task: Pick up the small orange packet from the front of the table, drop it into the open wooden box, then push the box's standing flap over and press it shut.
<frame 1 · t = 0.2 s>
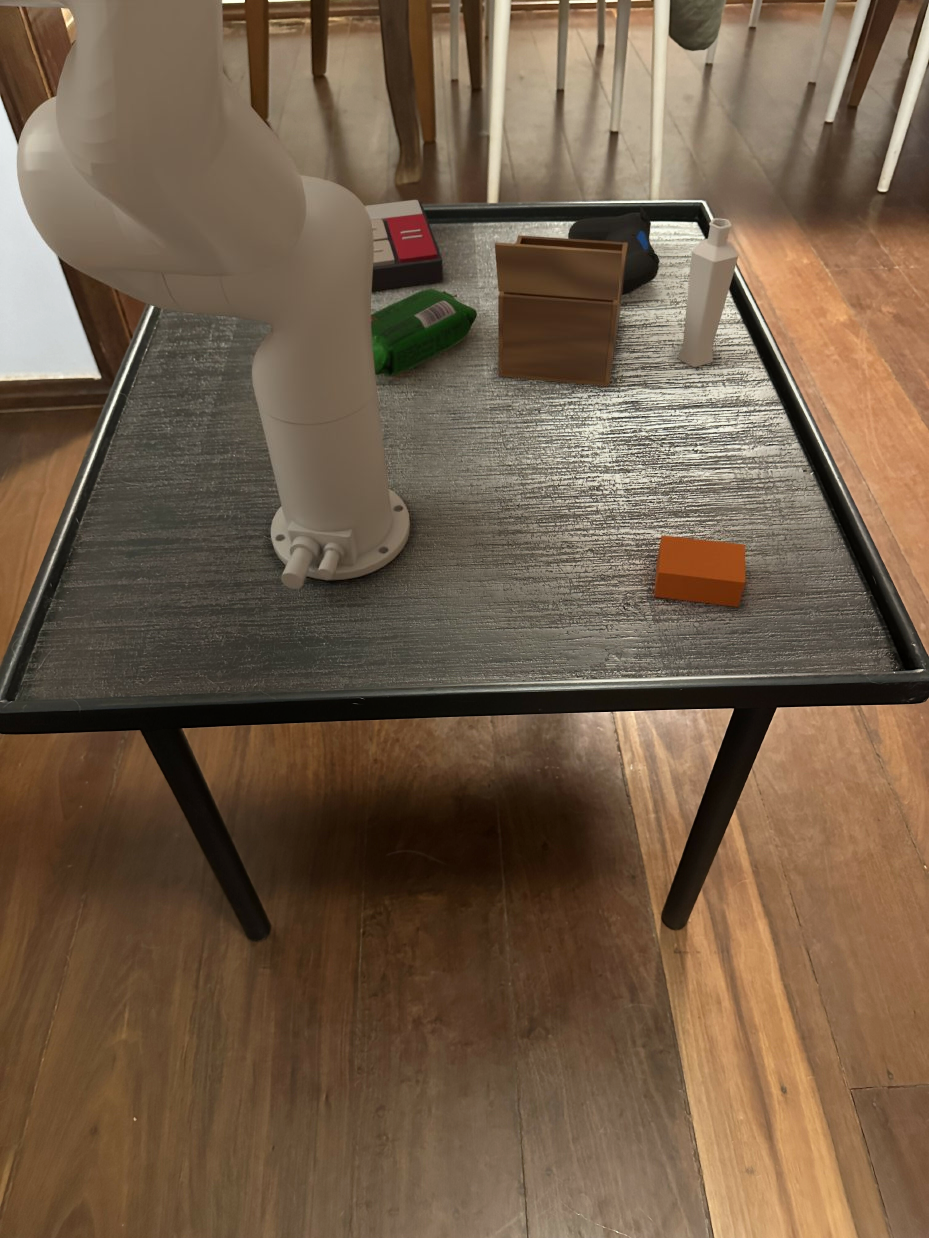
perfume bottle: (695, 359, 101), on the table
packet: (696, 582, 79), on the table
calculator: (390, 260, 117), on the table
flap: (557, 272, 88), point 13 cm above the table, hinge at 110.0°
snack package: (416, 352, 103), on the table
open wooden box: (560, 348, 103), on the table
gaming controller: (609, 276, 113), on the table
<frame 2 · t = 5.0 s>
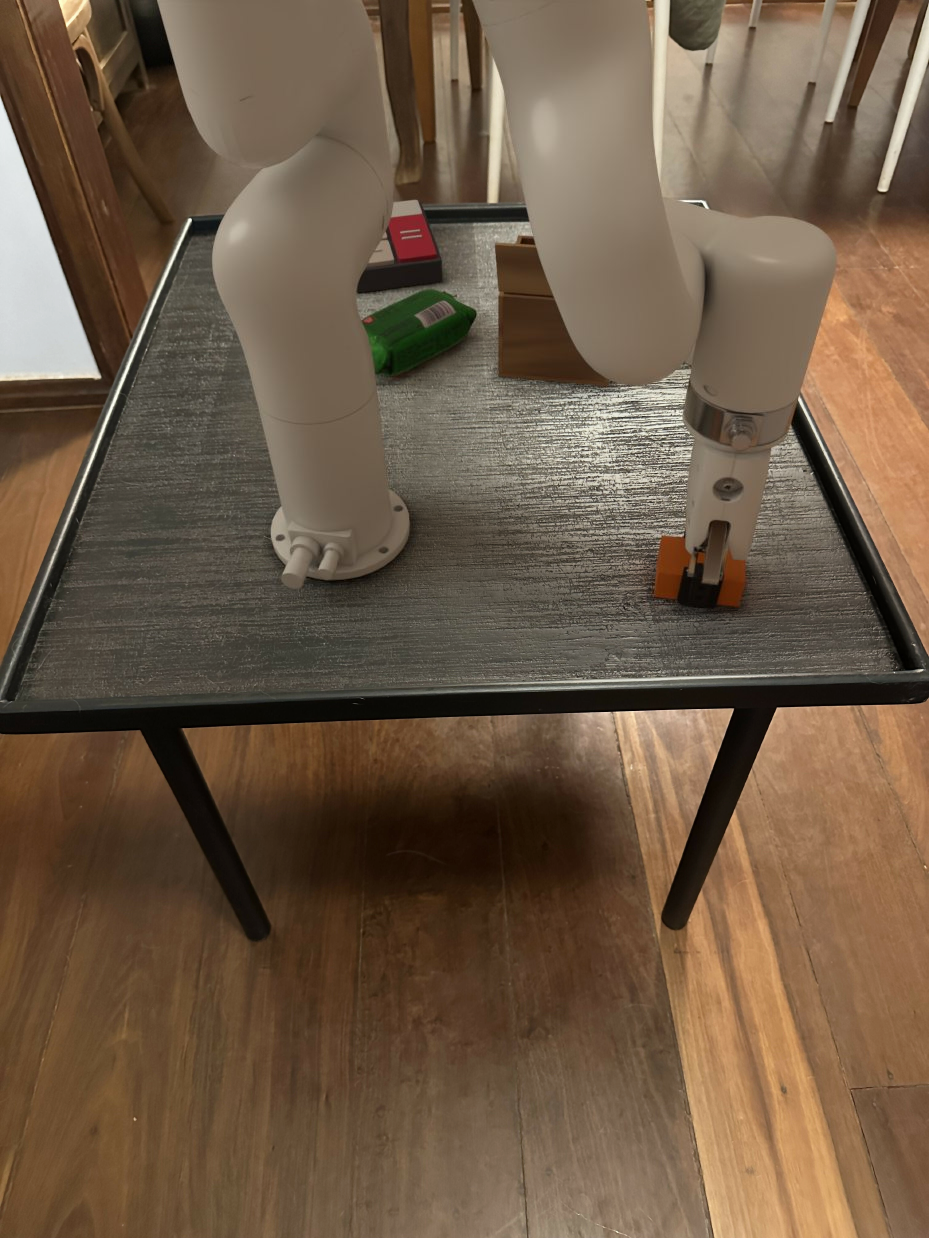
hand: (697, 579, 78), 0 cm above the table, tool pointing down, fingers closed on packet, 4 cm apart
packet: (696, 582, 79), on the table, touching gripper
everything else where it was.
when the fingers open (8 cm above the table, at t = 12.5 s): packet drops 7 cm, resting on open wooden box.
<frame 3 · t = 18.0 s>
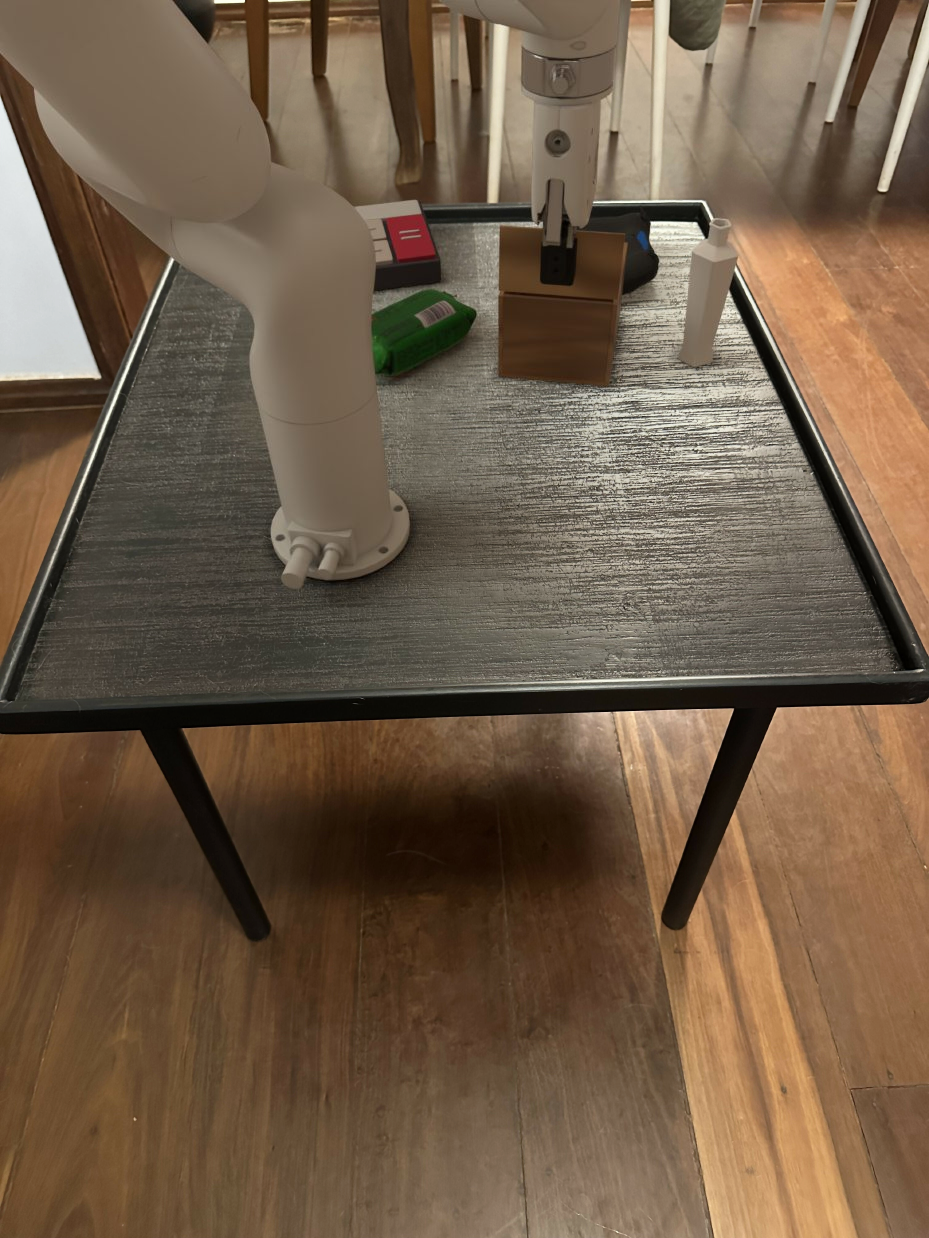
hand: (557, 280, 88), 13 cm above the table, tool pointing down, fingers closed
packet: (561, 344, 102), resting on open wooden box
flap: (559, 263, 89), point 13 cm above the table, hinge at 84.5°, touching gripper
everything else where it was.
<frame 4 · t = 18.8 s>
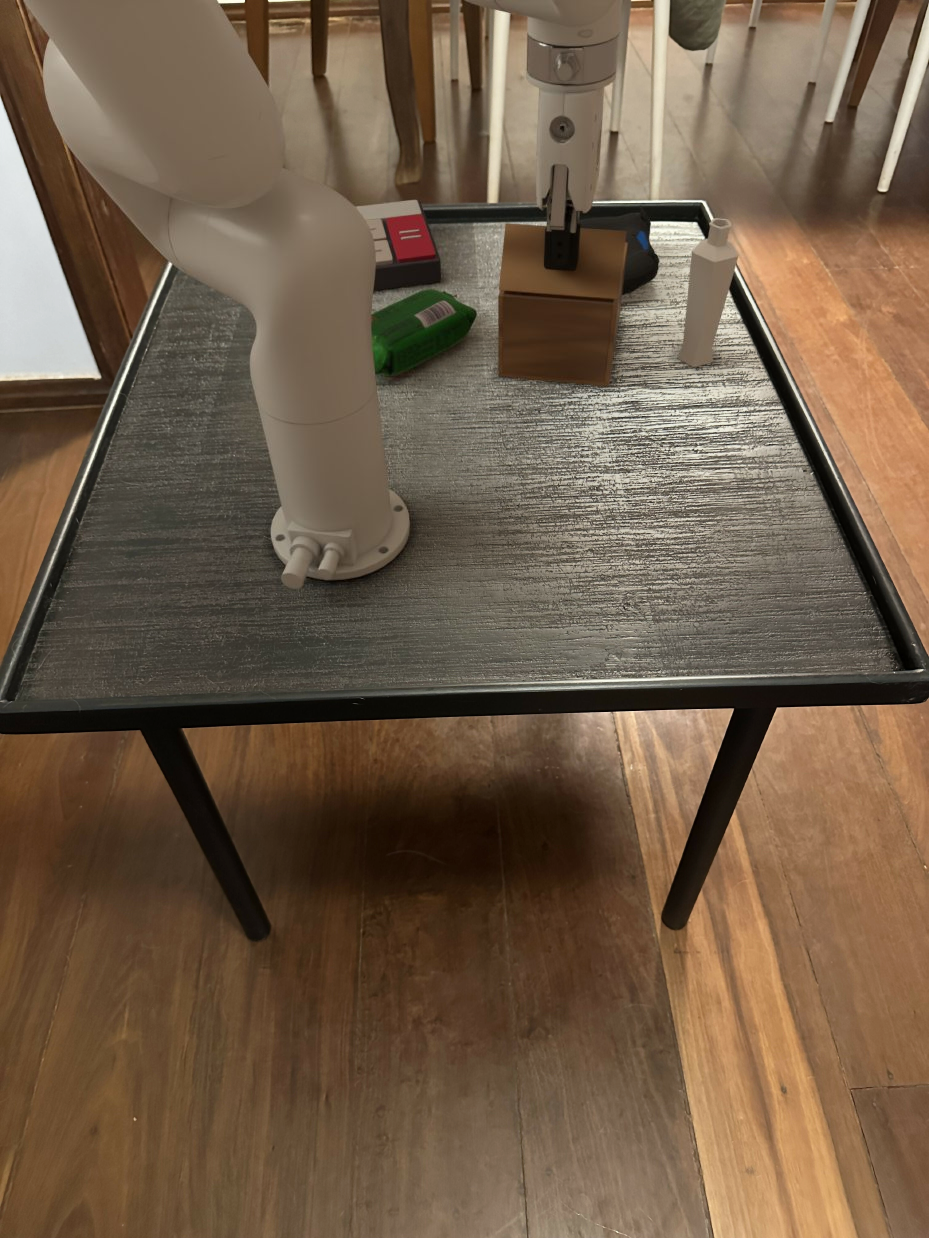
hand: (560, 265, 90), 13 cm above the table, tool pointing down, fingers closed
flap: (561, 261, 90), point 13 cm above the table, hinge at 50.1°, touching gripper
everything else where it was.
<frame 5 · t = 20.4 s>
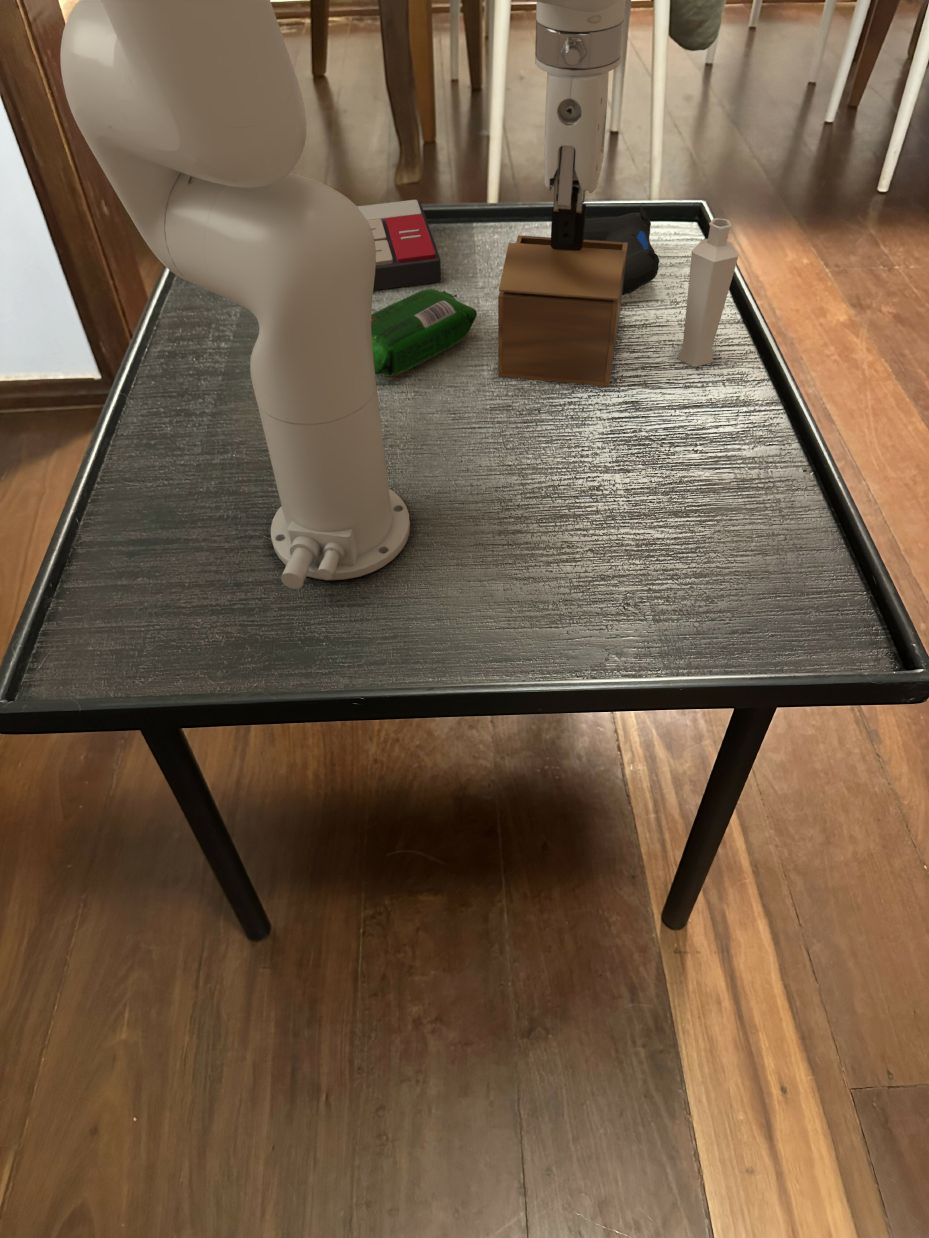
hand: (567, 245, 93), 12 cm above the table, tool pointing down, fingers closed
flap: (562, 271, 92), point 11 cm above the table, hinge at 17.0°
everything else where it was.
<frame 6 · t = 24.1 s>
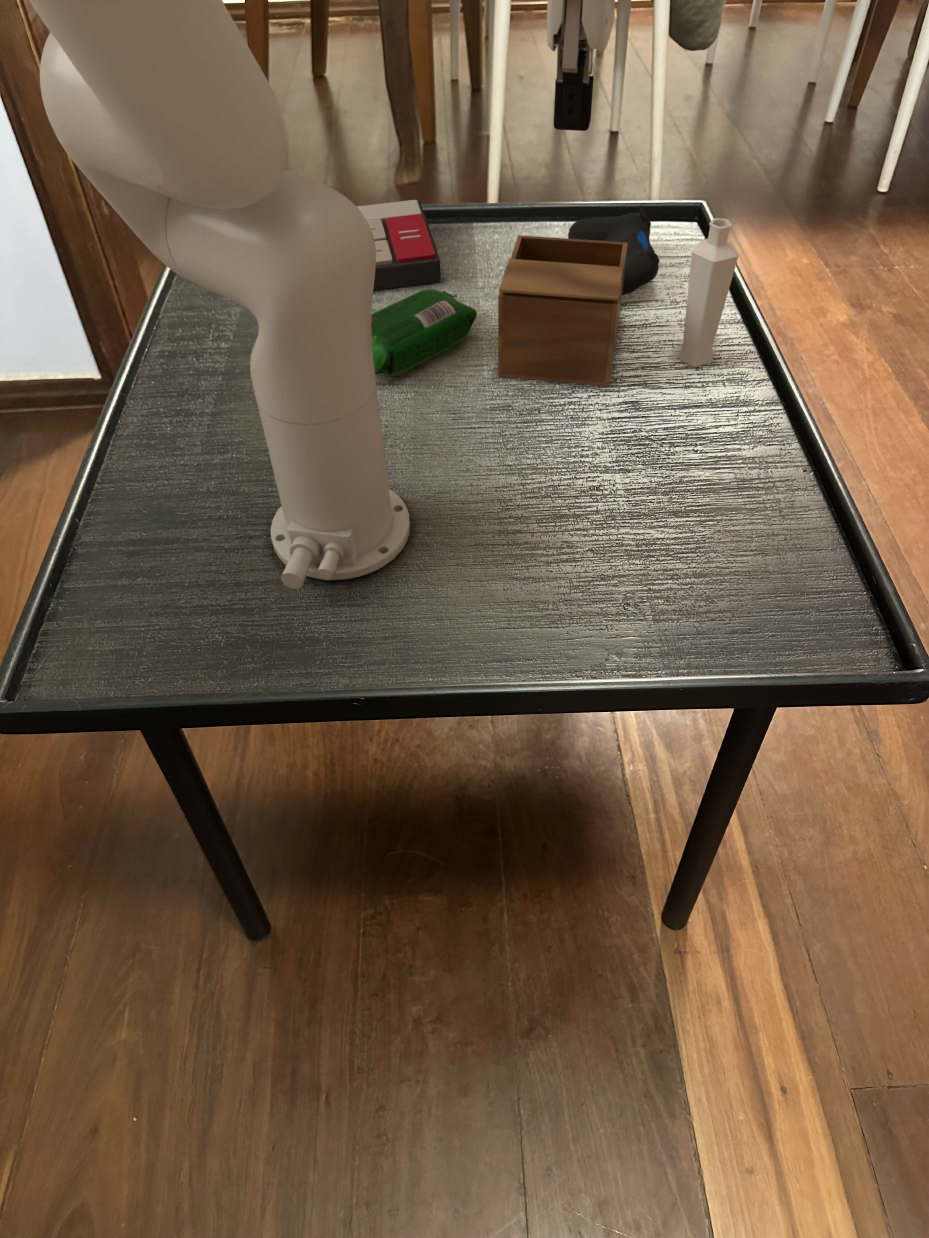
hand: (572, 126, 83), 24 cm above the table, tool pointing down, fingers closed
flap: (561, 279, 93), point 10 cm above the table, hinge at -0.4°
everything else where it was.
at the end: packet inside the target area in the open wooden box (0.1 cm from its centre), point 0.5 cm above the open wooden box's base; flap at +0° (first picture: +110°) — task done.
